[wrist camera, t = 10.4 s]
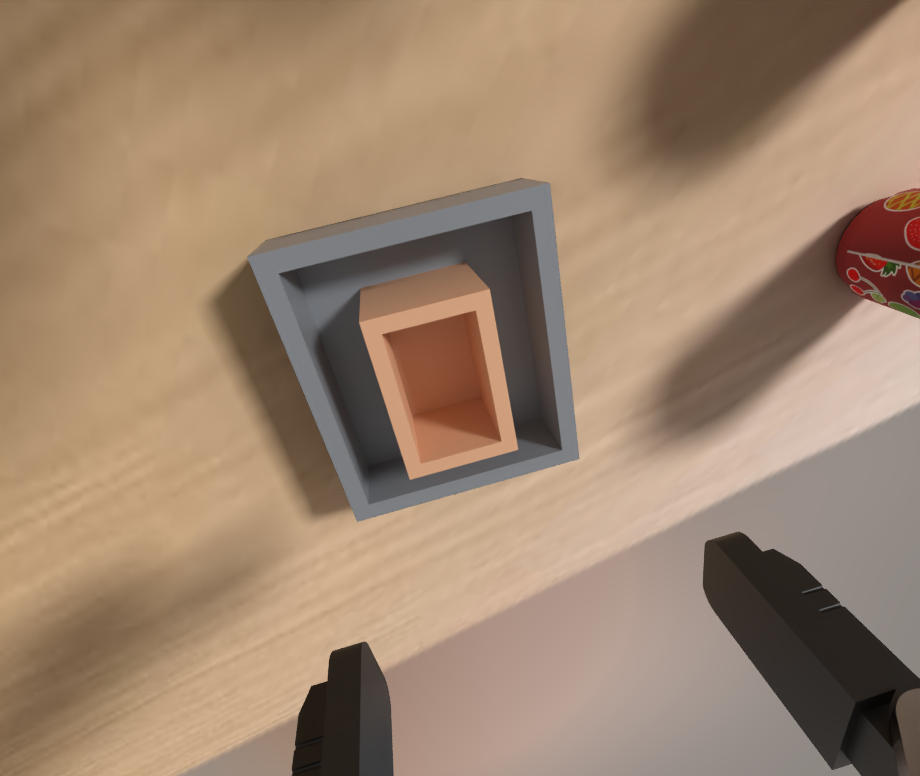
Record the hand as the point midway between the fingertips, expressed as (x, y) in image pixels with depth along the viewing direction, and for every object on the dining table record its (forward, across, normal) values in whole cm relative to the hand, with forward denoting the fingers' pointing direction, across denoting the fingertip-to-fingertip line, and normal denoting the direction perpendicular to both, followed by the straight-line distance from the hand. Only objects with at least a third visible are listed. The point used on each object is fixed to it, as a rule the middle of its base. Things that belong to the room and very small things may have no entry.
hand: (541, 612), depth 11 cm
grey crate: (+20, +1, +1) cm, 20 cm away
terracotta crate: (+19, +1, +1) cm, 19 cm away
